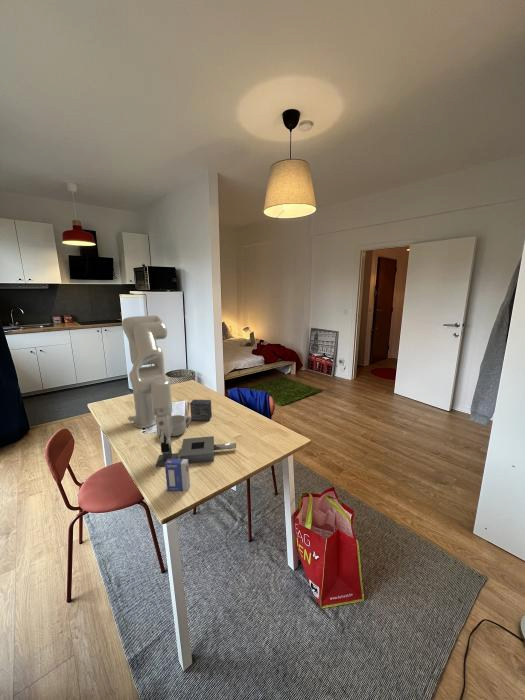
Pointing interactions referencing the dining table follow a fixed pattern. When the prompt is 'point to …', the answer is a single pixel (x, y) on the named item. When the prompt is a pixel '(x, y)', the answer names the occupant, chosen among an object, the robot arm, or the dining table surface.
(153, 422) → the robot arm
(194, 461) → the block
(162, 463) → the rubber pad
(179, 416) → the teacup
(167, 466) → the walkman
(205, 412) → the small box
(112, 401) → the dining table surface
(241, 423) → the dining table surface
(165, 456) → the silver copper cylinder
